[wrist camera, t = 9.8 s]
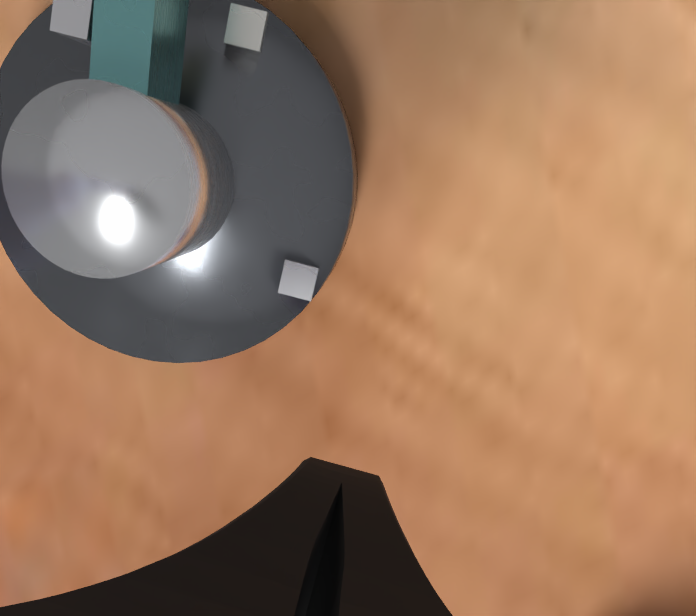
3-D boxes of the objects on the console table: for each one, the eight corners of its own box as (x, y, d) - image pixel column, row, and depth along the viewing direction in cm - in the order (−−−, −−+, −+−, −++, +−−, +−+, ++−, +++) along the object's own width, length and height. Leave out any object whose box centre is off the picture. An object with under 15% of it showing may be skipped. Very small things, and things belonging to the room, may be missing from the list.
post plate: (-4, 300, 20) (-116, 336, 16) (35, -53, 18) (-86, -126, 13) (311, 386, 20) (284, 446, 16) (398, 36, 17) (395, -9, 13)
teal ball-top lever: (224, 269, 18) (179, 294, 14) (78, 242, 18) (-2, 260, 14) (271, -123, 15) (230, -212, 12) (103, -148, 15) (14, -241, 12)
